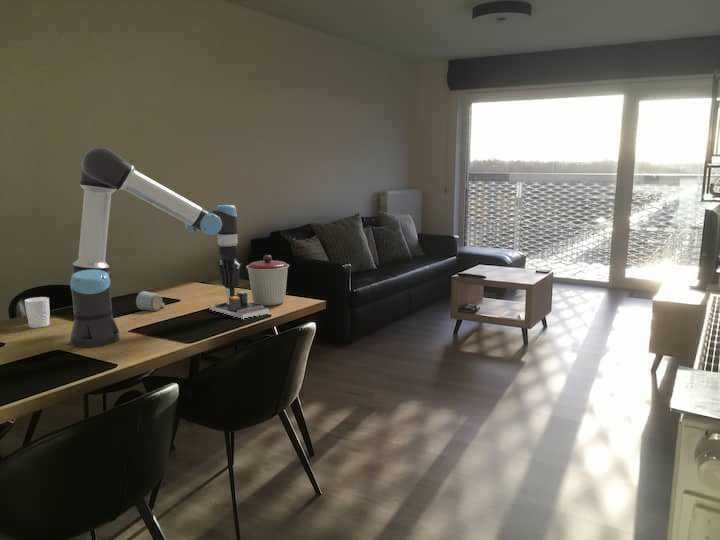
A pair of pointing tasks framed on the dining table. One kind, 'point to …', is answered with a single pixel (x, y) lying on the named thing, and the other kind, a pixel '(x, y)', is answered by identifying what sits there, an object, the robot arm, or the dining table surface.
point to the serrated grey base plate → (245, 310)
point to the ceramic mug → (149, 301)
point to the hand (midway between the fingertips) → (230, 303)
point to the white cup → (38, 312)
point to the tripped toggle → (234, 303)
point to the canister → (268, 281)
